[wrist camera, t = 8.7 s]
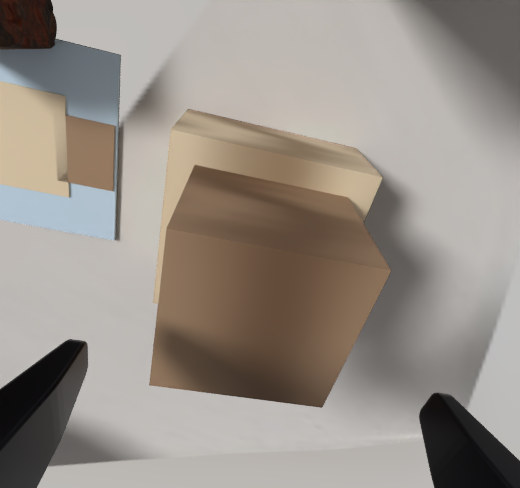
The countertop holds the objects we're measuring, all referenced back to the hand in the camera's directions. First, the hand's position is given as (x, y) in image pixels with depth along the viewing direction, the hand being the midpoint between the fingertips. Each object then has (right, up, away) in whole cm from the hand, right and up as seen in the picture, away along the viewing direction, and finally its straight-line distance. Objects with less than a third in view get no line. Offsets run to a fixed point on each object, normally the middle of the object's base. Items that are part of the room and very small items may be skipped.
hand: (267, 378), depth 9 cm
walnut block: (0, +3, +6) cm, 7 cm away
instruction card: (-10, +8, +7) cm, 15 cm away
